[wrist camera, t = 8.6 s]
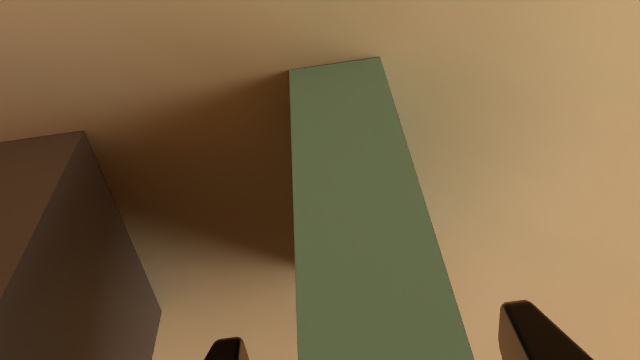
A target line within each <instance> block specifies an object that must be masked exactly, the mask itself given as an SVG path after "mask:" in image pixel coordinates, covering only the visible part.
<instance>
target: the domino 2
mask: <svg viewBox="0 0 640 360" xmlns="http://www.w3.org/2000/svg"><path fill="white" fill-rule="evenodd" d="M289 82H290V115H291V148H292V181H293V213H294V246H295V279H296V312H297V345H298V360H474V357H473V354H472V351H471V347H470V344H469V341H468V338H467V335H466V331H465V328H464V325H463V322H462V319H461V315H460V312H459V309H458V306H457V303H456V299H455V296H454V293H453V290H452V287H451V283H450V280H449V277H448V274H447V271H446V267H445V264H444V261H443V258H442V255H441V251H440V248H439V245H438V242H437V239H436V235H435V232H434V229H433V226H432V223H431V219H430V216H429V213H428V210H427V207H426V203H425V200H424V197H423V194H422V191H421V187H420V184H419V181H418V178H417V175H416V171H415V168H414V165H413V162H412V159H411V155H410V152H409V149H408V146H407V143H406V139H405V136H404V133H403V130H402V127H401V123H400V120H399V117H398V114H397V111H396V107H395V104H394V101H393V98H392V95H391V91H390V88H389V85H388V82H387V79H386V75H385V72H384V69H383V66H382V63H381V59H380V57H377V58H370V59H363V60H356V61H349V62H342V63H335V64H328V65H321V66H314V67H307V68H300V69H293V70H289Z"/></svg>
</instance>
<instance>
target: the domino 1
mask: <svg viewBox="0 0 640 360" xmlns="http://www.w3.org/2000/svg"><path fill="white" fill-rule="evenodd" d="M160 316H161V309H160V307H159V304H158V302H157V300H156V297H155V295H154V293H153V290H152V288H151V286H150V284H149V281H148V279H147V277H146V274H145V272H144V270H143V267H142V265H141V263H140V260H139V258H138V256H137V253H136V251H135V249H134V246H133V244H132V242H131V239H130V237H129V235H128V233H127V230H126V228H125V226H124V223H123V221H122V219H121V216H120V214H119V212H118V209H117V207H116V205H115V202H114V200H113V198H112V195H111V193H110V191H109V188H108V186H107V184H106V181H105V179H104V177H103V175H102V172H101V170H100V168H99V165H98V163H97V161H96V158H95V156H94V154H93V151H92V149H91V147H90V144H89V142H88V140H87V137H86V135H85V133H84V131H79V132H72V133H65V134H57V135H50V136H43V137H36V138H29V139H22V140H15V141H8V142H1V143H0V360H152V355H153V351H154V346H155V341H156V336H157V331H158V326H159V321H160Z"/></svg>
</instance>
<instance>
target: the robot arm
mask: <svg viewBox="0 0 640 360" xmlns="http://www.w3.org/2000/svg"><path fill="white" fill-rule="evenodd" d="M498 340H499V347H500V351H501V355H502V359H503V360H593V359H592V358H591V357H590V356H589V355H588V354H587V353H586V352H585V351H584V350H582V349H581V348H580V347H579V346H578V345H577V344H576V343H575V342H574V341H573V340H572V339H570V338H569V337H568V336H567V335H566V334H565V333H564V332H563V331H562V330H561V329H560V328H559V327H557V326H556V325H555V324H554V323H553V322H552V321H551V320H550V319H549V318H548V317H547V316H545V315H544V314H543V313H542V312H541V311H540V310H539V309H538V308H537V307H536V306H535V305H533V304H532V303H531V302H529V301H527V300H519V301H511V302H505V303H503V304H502V306H501V308H500V320H499V333H498ZM204 360H249V357H248V354H247V351H246V348H245V345H244V342H243V340H242V339H241V338H240V337H232V338H224V339H219V340H217V341H215V342H214V344H213V345H212V347H211V349H210V350H209V352H208V354H207V356H206V357H205V359H204Z"/></svg>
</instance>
